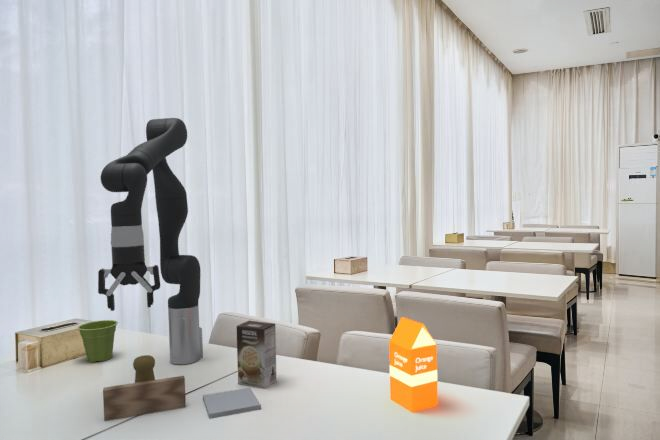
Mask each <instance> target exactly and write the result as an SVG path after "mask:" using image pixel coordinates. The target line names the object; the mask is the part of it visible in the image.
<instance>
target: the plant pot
mask: <svg viewBox="0 0 660 440" xmlns="http://www.w3.org/2000/svg"><path fill="white" fill-rule="evenodd" d="M118 323H119V322H118V321H117V320H112V319H105V320H95V321H89V322H85V323H83V324H80V325H78V326H77V327H76V328H77V330H78V331H79V334H80V337H81V339H82V343H83V347H84V351H85V355H86V359H87V361H88V362H91V363H96V362H104V361H108V360H110V359H112V357H113V351H114V342H115V333H116V330H117V329H116V328H117V325H118Z"/></svg>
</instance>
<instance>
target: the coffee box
mask: <svg viewBox="0 0 660 440" xmlns="http://www.w3.org/2000/svg"><path fill="white" fill-rule="evenodd" d="M276 332H277V331H276V323H271V322H265V321H264V322H263V321H256V320H247V321H245V322H243V323H240V324H238V325H236V352H237V353H236V354H237V355H236V357H237V358H236V359H237V384H239V385H244V386H250V387H254V388H261V389H266V388H269V386H271V385H272V384H274V383H276V382H277V344H276V343H277V341H276Z"/></svg>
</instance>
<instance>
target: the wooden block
mask: <svg viewBox="0 0 660 440" xmlns="http://www.w3.org/2000/svg"><path fill="white" fill-rule="evenodd" d="M102 398H103V421H110V420H116V419H117V420H118V419H122V418H128V417H129V418H130V417H134V416H139V415H144V414H145V415H146V414H152V413H157V412H163V411H168V410H169V411H170V410H174V409H180V408H181V409H182V408H186V407H187V402H186V379H185V375H179V376H173V377H172V376H171V377H166V378H165V377H164V378H160V379H155V380H151V381H145V382H138V383H135V382H132V383H125V384H118V385H112V386H105V387H103V388H102Z"/></svg>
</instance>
